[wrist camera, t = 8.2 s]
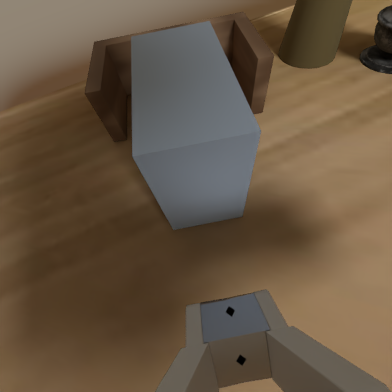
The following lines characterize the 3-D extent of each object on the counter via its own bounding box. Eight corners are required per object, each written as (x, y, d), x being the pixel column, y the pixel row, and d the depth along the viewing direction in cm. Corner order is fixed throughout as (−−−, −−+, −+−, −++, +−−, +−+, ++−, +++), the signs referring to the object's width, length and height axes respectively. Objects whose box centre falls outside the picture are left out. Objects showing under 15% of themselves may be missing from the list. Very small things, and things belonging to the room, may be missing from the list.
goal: (114, 141, 20) (84, 93, 16) (117, 91, 24) (94, 41, 20) (262, 112, 20) (274, 55, 15) (239, 66, 24) (243, 11, 20)
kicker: (173, 230, 15) (132, 156, 8) (162, 133, 20) (131, 36, 13) (242, 216, 15) (261, 130, 8) (213, 123, 20) (209, 20, 13)
